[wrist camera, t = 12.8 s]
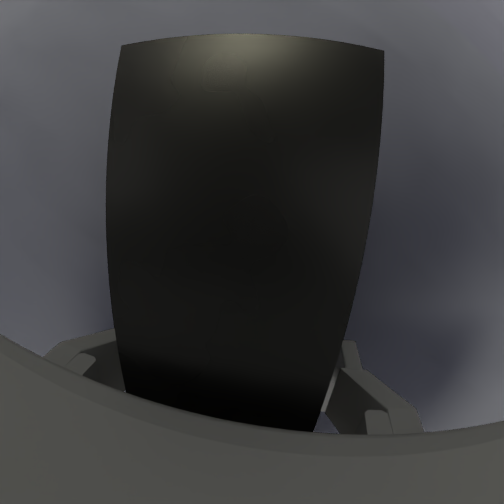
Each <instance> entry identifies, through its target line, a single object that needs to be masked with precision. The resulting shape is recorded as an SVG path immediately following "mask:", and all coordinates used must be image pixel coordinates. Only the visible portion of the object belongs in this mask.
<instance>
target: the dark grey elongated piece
mask: <svg viewBox="0 0 504 504" xmlns="http://www.w3.org/2000/svg"><path fill="white" fill-rule="evenodd" d="M383 89H384V51H383V50H378V49H374V48H369V47H365V46H360V45H355V44H349V43H344V42H338V41H331V40H324V39H316V38H308V37H298V36H286V35H270V34H212V35H195V36H183V37H174V38H165V39H157V40H151V41H144V42H138V43H132V44H127V45H122V46H121V51H120V57H119V62H118V68H117V74H116V80H115V86H114V93H113V101H112V109H111V118H110V128H109V140H108V154H107V175H106V237H107V258H108V273H109V285H110V295H111V304H112V313H113V321H114V328H115V335H116V342H117V348H118V354H119V359H120V365H121V370H122V375H123V380H124V385H125V390H126V393H129V394H132V395H135V396H138V397H141V398H144V399H147V400H150V401H153V402H157V403H160V404H163V405H167V406H170V407H174V408H178V409H181V410H185V411H189V412H193V413H197V414H201V415H206V416H210V417H215V418H219V419H224V420H229V421H234V422H240V423H245V424H251V425H257V426H264V427H271V428H278V429H286V430H295V431H305V432H313V430H314V428H315V425H316V422H317V419H318V417H319V414H320V411H321V408H322V406H323V403H324V400H325V397H326V394H327V391H328V388H329V385H330V382H331V379H332V376H333V372H334V369H335V366H336V363H337V359H338V356H339V353H340V349H341V346H342V342H343V339H344V335H345V331H346V328H347V324H348V320H349V316H350V312H351V308H352V304H353V300H354V296H355V292H356V287H357V283H358V279H359V274H360V269H361V265H362V260H363V255H364V250H365V244H366V239H367V234H368V228H369V222H370V216H371V210H372V203H373V197H374V190H375V182H376V174H377V166H378V157H379V147H380V137H381V124H382V109H383Z"/></svg>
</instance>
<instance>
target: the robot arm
mask: <svg viewBox="0 0 504 504" xmlns="http://www.w3.org/2000/svg"><path fill="white" fill-rule="evenodd" d="M123 391H125V385H124V380H123V375H122V370H121V365H120V359H119V354H118V348H117V342H116V335H115V328H113V329H109V330H106V331H102V332H98V333H94V334H90V335H87V336H83V337H79V338H75V339H71V340H67V341H63V342H60V343H59V344H58V345H56V346H55V347H54V348H53V349H52V350H50V351H49V352H48V353H47V354H46V355H45V356H43V357H41V356H39V355H37V354H35V353H33V352H32V351H30V350H28V349H26V348H24V347H22V346H20V345H19V344H17V343H15V342H13V341H12V340H10V339H8V338H6V337H5V336H3V335H1V334H0V504H504V421H500V422H495V423H490V424H485V425H479V426H473V427H467V428H460V429H453V430H445V431H435V432H424V430H423V427H422V424H421V421H420V418H419V416H418V413H417V410H416V408H414V407H413V406H412V405H410V404H409V403H408V402H407V401H405V400H404V399H403V398H402V397H400V396H399V395H398V394H396V393H395V392H394V391H393V390H391V389H390V388H389V387H388V386H386V385H385V384H384V383H383V382H381V381H380V380H379V379H378V378H376V377H375V376H374V375H373V374H371V373H370V372H369V371H368V370H363V369H362V365H361V361H360V357H359V353H358V349H357V346H356V342H355V341H352V340H343V342H342V346H341V349H340V353H339V356H338V359H337V363H336V366H335V369H334V372H333V376H332V379H331V382H330V385H329V388H328V391H327V394H326V397H325V400H324V403H323V406H322V408H321V412H325V413H326V415H327V416H328V418H329V419H330V420H331V422H332V423H333V424H334V426H335V427H336V428H337V430H338V431H339V433H340V434H332V433H317V432H305V431H295V430H286V429H278V428H271V427H264V426H257V425H251V424H245V423H240V422H234V421H229V420H224V419H219V418H215V417H210V416H206V415H201V414H197V413H193V412H189V411H185V410H181V409H178V408H174V407H170V406H167V405H163V404H160V403H157V402H153V401H150V400H147V399H144V398H141V397H138V396H135V395H132V394H129V393H126V392H123Z"/></svg>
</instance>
